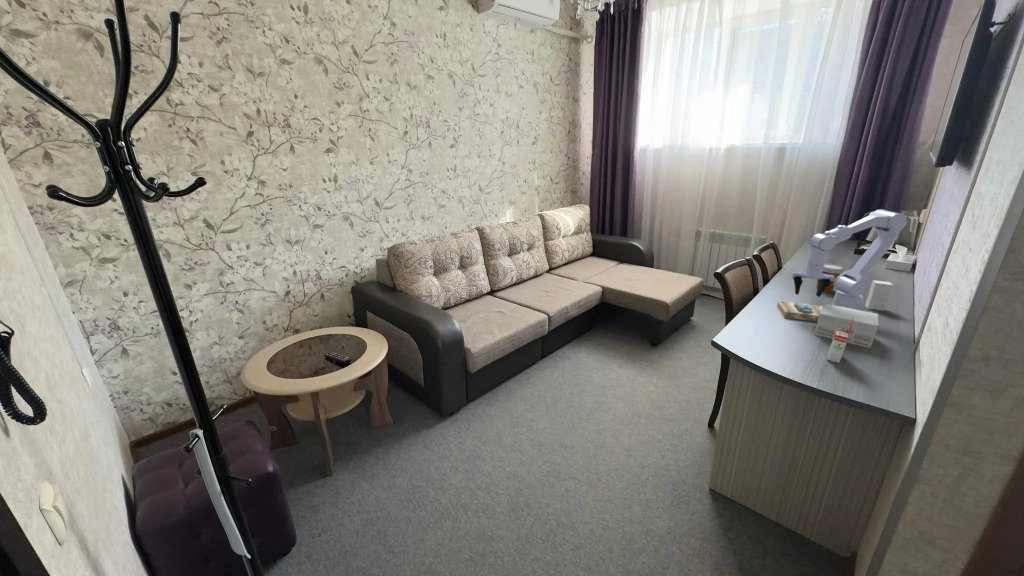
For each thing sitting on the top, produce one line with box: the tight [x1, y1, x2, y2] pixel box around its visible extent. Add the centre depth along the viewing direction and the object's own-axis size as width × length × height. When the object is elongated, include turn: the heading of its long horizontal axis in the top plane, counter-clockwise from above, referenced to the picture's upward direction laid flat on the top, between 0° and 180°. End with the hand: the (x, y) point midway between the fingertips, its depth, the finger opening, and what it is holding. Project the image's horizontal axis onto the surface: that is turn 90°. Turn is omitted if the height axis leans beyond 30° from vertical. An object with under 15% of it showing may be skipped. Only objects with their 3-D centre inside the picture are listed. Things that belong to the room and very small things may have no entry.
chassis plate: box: [776, 300, 823, 322], centre depth 173 cm, size 16×12×3 cm
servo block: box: [795, 301, 812, 313], centre depth 173 cm, size 4×9×5 cm, turn 161°
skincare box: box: [864, 279, 894, 311], centre depth 178 cm, size 6×4×12 cm
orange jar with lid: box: [816, 263, 844, 293], centre depth 198 cm, size 10×10×12 cm
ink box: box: [826, 318, 853, 364], centre depth 138 cm, size 4×8×15 cm, turn 140°
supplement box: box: [813, 302, 879, 349], centre depth 155 cm, size 17×13×9 cm
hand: (807, 294), depth 172 cm, fingers open, 7 cm apart
